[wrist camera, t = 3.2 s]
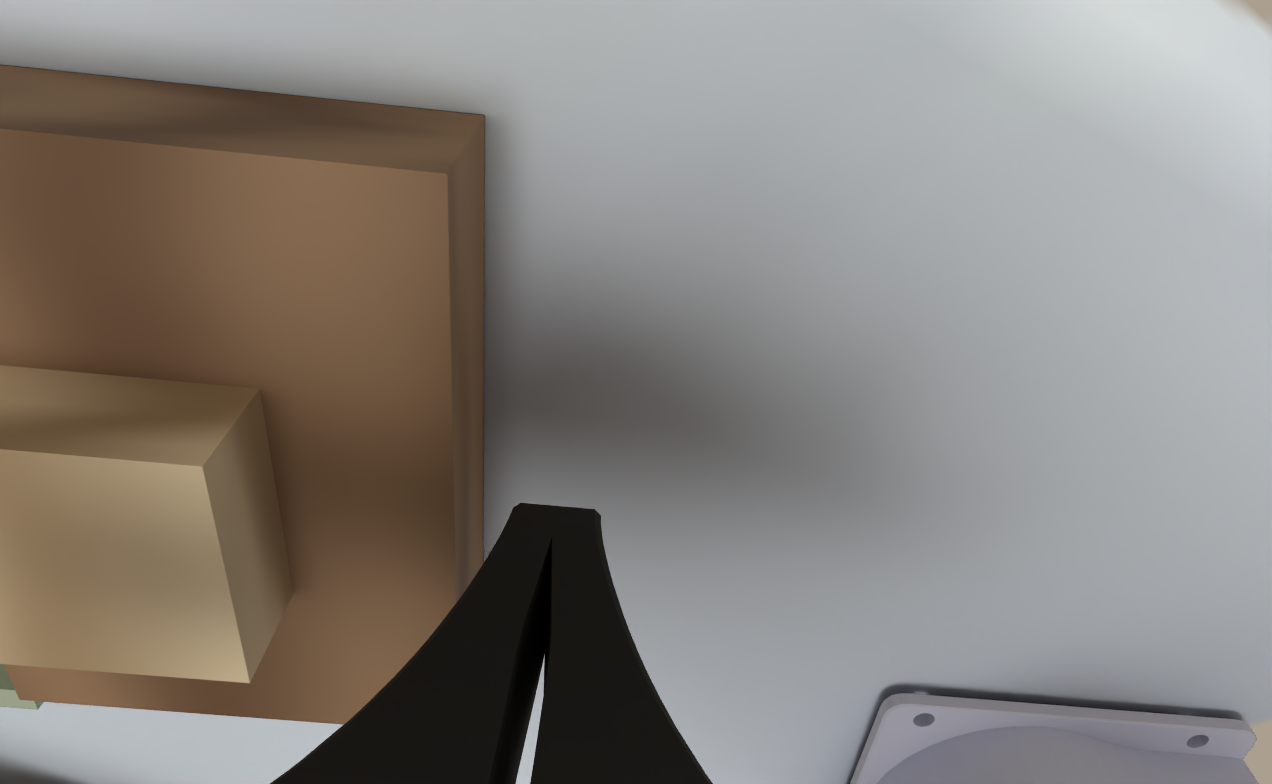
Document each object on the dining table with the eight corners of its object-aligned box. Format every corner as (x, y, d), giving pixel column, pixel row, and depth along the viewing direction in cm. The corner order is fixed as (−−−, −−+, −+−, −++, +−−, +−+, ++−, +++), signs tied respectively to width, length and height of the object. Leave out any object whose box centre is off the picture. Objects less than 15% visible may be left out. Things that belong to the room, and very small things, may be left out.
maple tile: (259, 388, 13) (201, 466, 12) (293, 594, 16) (250, 683, 14) (-37, 362, 13) (-138, 437, 11) (44, 573, 16) (-30, 661, 14)
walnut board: (484, 115, 14) (447, 174, 11) (483, 623, 20) (458, 733, 18) (-80, 56, 14) (-248, 103, 11) (99, 592, 20) (19, 700, 17)
